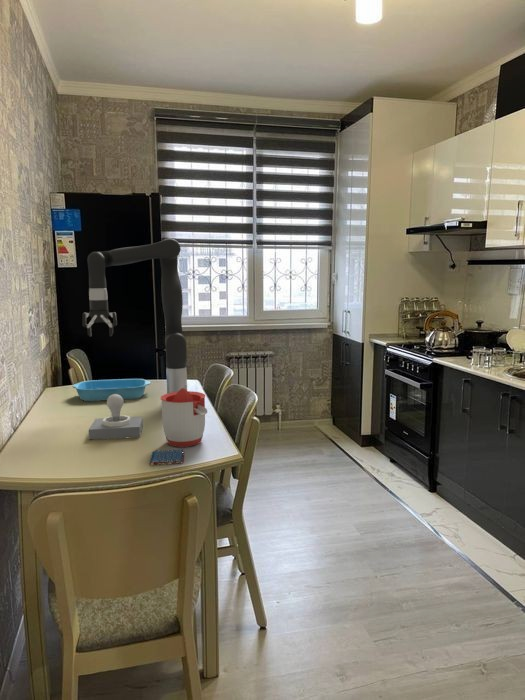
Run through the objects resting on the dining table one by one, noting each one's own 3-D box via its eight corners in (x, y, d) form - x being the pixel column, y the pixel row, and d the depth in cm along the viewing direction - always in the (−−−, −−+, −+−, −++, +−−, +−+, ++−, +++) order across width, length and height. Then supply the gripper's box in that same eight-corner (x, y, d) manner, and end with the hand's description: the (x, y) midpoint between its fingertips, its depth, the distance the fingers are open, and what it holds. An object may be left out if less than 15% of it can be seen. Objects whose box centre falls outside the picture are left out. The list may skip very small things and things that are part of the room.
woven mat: (183, 465, 155) (183, 459, 155) (149, 467, 154) (148, 461, 154) (185, 454, 166) (184, 448, 165) (153, 455, 165) (152, 449, 164)
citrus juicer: (191, 453, 164) (189, 395, 161) (153, 444, 174) (150, 389, 171) (219, 440, 178) (218, 386, 175) (182, 432, 187) (180, 381, 184)
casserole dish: (151, 389, 259) (150, 376, 258) (150, 400, 237) (150, 385, 236) (77, 394, 251) (76, 380, 250) (69, 404, 230) (68, 390, 229)
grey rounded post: (109, 425, 183) (107, 396, 181) (106, 421, 188) (105, 393, 186) (126, 423, 185) (124, 395, 184) (122, 419, 191) (121, 391, 189)
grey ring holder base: (143, 426, 195) (142, 412, 195) (139, 437, 182) (139, 422, 181) (96, 428, 193) (95, 414, 192) (89, 440, 179) (88, 425, 178)
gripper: (79, 299, 208) (81, 337, 210) (114, 299, 210) (116, 336, 212) (83, 298, 215) (85, 335, 218) (116, 298, 217) (118, 334, 220)
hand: (100, 336), depth 215 cm, fingers open, 8 cm apart
